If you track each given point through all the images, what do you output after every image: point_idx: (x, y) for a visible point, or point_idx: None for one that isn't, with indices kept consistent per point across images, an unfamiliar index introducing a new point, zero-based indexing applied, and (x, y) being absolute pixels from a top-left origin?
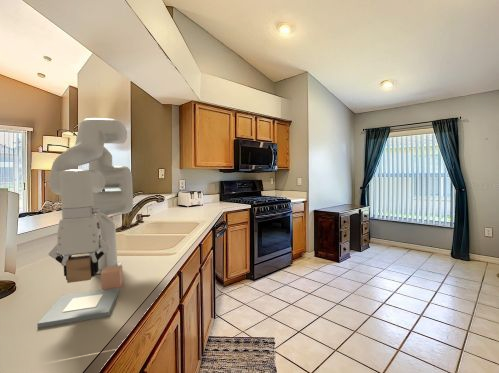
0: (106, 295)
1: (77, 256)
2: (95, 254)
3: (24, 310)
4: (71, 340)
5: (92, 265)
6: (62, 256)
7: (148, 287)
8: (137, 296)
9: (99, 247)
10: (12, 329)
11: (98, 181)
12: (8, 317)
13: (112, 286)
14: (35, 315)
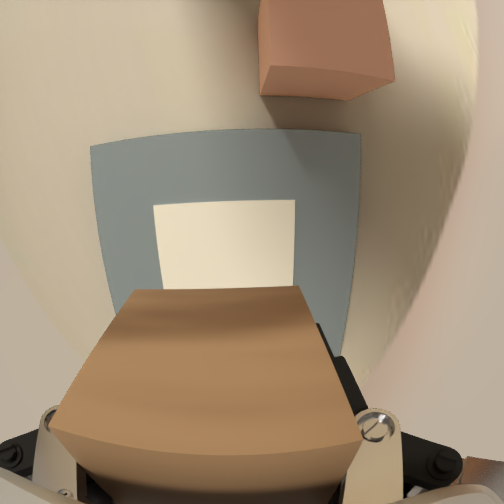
0: (314, 216)
1: (149, 485)
2: (372, 478)
3: (22, 212)
4: None
5: None
6: (28, 472)
7: (451, 150)
8: (419, 223)
9: (458, 497)
10: (69, 329)
11: None
12: (12, 249)
13: (316, 93)
14: (71, 263)
